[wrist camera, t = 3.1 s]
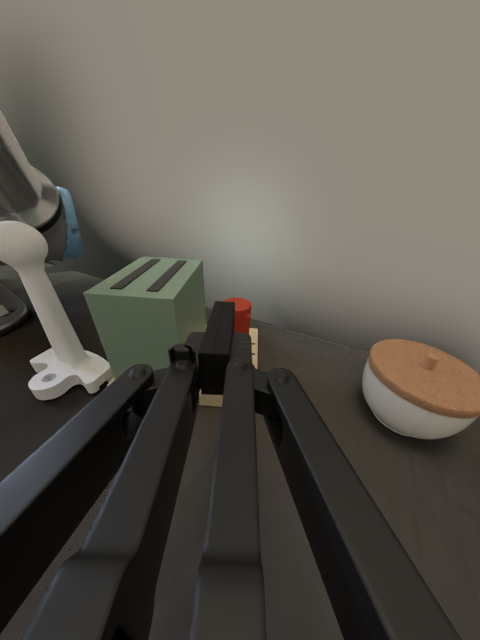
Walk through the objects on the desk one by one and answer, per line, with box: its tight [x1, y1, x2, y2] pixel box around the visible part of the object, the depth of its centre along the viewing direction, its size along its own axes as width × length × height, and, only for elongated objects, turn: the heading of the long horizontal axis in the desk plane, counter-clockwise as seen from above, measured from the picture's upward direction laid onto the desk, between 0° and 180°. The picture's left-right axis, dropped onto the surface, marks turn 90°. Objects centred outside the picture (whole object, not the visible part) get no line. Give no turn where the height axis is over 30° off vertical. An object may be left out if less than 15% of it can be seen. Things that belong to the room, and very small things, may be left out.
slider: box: [224, 298, 251, 334], centre depth 26 cm, size 3×3×11 cm
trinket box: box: [362, 339, 480, 439], centre depth 25 cm, size 11×11×9 cm
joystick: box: [0, 221, 114, 400], centre depth 25 cm, size 11×8×20 cm
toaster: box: [83, 257, 258, 407], centre depth 31 cm, size 16×18×14 cm
